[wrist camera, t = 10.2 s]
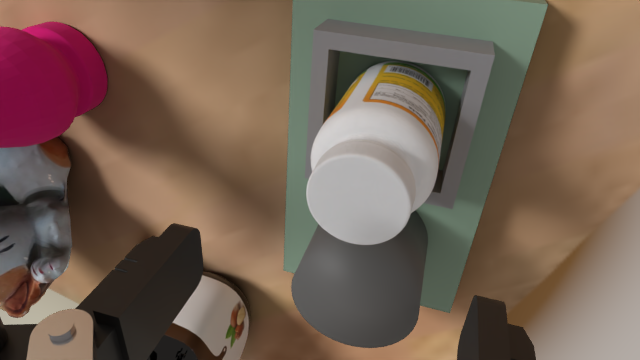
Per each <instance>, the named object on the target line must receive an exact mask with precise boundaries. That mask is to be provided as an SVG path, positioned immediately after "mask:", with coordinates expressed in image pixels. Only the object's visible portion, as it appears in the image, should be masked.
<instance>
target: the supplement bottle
mask: <svg viewBox="0 0 640 360" xmlns="http://www.w3.org/2000/svg"><path fill="white" fill-rule="evenodd" d="M445 117H446V105H445V99H444V95H443V92H442V90H441V88H440V86H439V84H438V83H437V82H436V80H435V79H434V78H433V77H432V76H431V75H430V74H429V73H428V72H426V71H425V70H424V69H422V68H420V67H418V66H416V65H414V64H411V63H408V62H403V61H386V62H382V63H378V64H376V65H373V66H371V67H369V68H368V69H366V70H365V71H364V72H362V73H361V74H360V75H359V76H358V77H357V78H356V79H355V81H354V82H353V83H352V84H351V86H350V87H349V89H348V90H347V92H346V93H345V95H344V96H343V98H342V99H341V100H340V102H339V103H338V105H337V106H336V107H335V109H334V110H333V111H332V113H331V114H330V116H329V117H328V118H327V120H326V121H325V122H324V124H323V125H322V127H321V128H320V130H319V132H318V134H317V136H316V138H315V140H314V143H313V146H312V151H311V168H312V173H311V175H310V177H309V180H308V183H307V189H306V197H307V203H308V207H309V210H310V212H311V214H312V216H313V217H314V219H315V220H316V222H317V223H318V224H319V225H320V226H321V227H322V228H323V229H324V230H325V231H327V232H328V233H329V234H331V235H332V236H334V237H336V238H338V239H340V240H343V241H345V242H348V243H352V244H358V245H374V244H379V243H382V242H385V241H388V240H390V239H392V238H393V237H395V236H396V235H397V234H399V233H400V232H401V231H402V229H403V228H404V227H405V226H406V224H407V222H408V220H409V218H410V215H411V213H412V212H414V211H415V210H416V209H418V208H419V207H420V206H421V205H422V204H423V203H424V202H425V201H426V200H427V198H428V197H429V195H430V194H431V192H432V190H433V188H434V185H435V182H436V178H437V173H438V167H439V159H440V152H441V145H442V138H443V131H444V124H445Z"/></svg>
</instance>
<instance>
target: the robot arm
mask: <svg viewBox="0 0 640 360" xmlns="http://www.w3.org/2000/svg"><path fill="white" fill-rule="evenodd" d="M202 274H203V257H202V247H201V237H200V232H199V230H198V229H196V228H192V227H188V226H184V225H180V224H175V223H173V224H171V225H170V226H169V227H168V228H167V229H166V230H165V231H164V232H163V233H162V235H161V236H160V237H155V236H152V237H150V238H148V239H146V240H145V241H143V242H141V243H139V244H138V245H136V246H135V247H134V248H133V249H132V250H131V251H130V252H129V253H128V254H127V255H126V257H125V259H124V260H122V261H121V262H120V263H119V264H118V265H117V266H116V267H115V270H112V271H111V272H110V273H109V274H108V275H107V276H106V277H105V278H104V280H103V281H102V282H101V283H100V284H99V285H98V286H97V287H96V288H95V289H94V290H93V291H92V292H91V293H90V294H89V295H88V296H87V297H86V298H85V299H84V300H83V301H82V303H81V304H80V305H79V306H78V307H77V308H75V309H67V310H62V311H58V312H56V313H53V314H52V315H49V316H48V317H46V318H45V319H43V320H42V321H41V322H40V323H39V324H24V325H3V323H2V321H1V318H0V360H147V359H148V357H149V356H150V354H151V353H152V351H153V350H154V348H155V347H156V346H157V344H158V343H159V341H160V340H161V338H162V337H163V336H164V334H165V333H166V331H167V330H168V328H169V327H170V325H171V324H172V323H173V321H174V320H175V318H176V317H177V315H178V314H179V313H180V311H181V310H182V308H183V307H184V305H185V304H186V302H187V301H188V300H189V298H190V297H191V295H192V294H193V292H194V291H195V290H196V288H197V287H198V285H199V283H200V281H201V278H202ZM457 360H536V357H535V351H534V346H533V344H532V342H531V340H530V339H529V337H528V335H527V334H526V332H525V330H524V329H523V327H519V326H515V325H511V324H507V314H506V305H505V303H504V302H502V301H498V300H494V299H489V298H485V297H481V296H477V295H475V296H474V298H473V300H472V303H471V306H470V309H469V311H468V314H467V317H466V320H465V323H464V326H463V329H462V331H461V335H460V339H459V345H458V353H457Z"/></svg>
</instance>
